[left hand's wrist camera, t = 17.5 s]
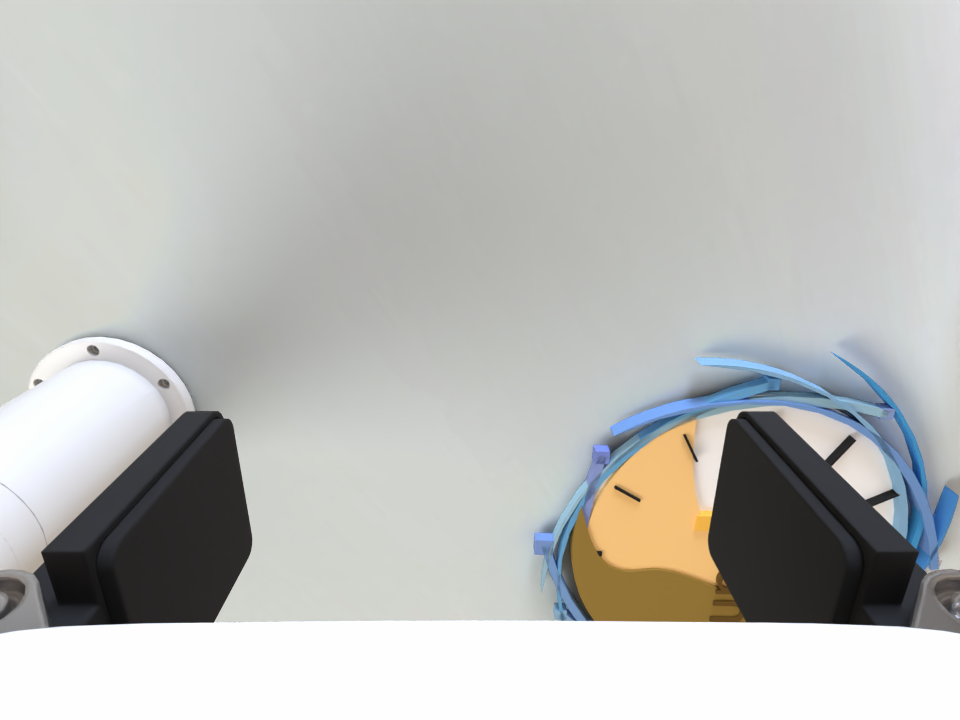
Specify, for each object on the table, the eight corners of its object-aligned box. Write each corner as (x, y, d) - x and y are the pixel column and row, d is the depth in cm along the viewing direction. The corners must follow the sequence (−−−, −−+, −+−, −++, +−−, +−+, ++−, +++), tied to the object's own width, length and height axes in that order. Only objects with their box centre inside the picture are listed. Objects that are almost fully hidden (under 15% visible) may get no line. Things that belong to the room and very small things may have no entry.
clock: (548, 341, 45) (551, 350, 44) (1002, 353, 46) (1025, 363, 44) (523, 674, 58) (524, 693, 56) (879, 681, 58) (892, 700, 57)
